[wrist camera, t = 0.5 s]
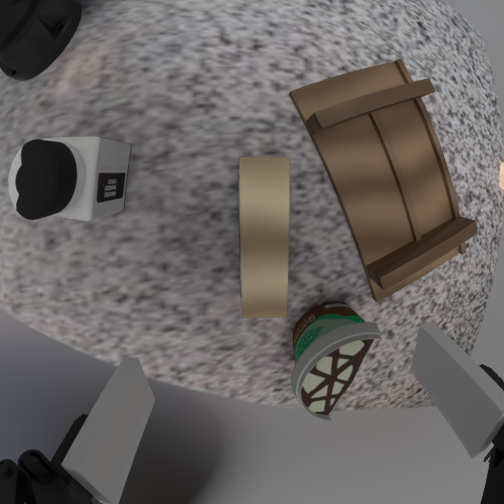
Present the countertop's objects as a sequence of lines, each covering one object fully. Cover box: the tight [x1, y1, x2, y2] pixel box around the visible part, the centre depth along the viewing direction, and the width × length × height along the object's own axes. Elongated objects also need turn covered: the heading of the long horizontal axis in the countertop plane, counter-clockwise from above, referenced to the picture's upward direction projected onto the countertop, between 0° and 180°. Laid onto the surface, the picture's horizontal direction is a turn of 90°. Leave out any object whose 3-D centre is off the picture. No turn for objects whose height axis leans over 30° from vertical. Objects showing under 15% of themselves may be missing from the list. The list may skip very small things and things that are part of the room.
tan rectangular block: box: [238, 157, 290, 318], centre depth 26 cm, size 14×4×7 cm, turn 0°
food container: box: [291, 301, 382, 421], centre depth 28 cm, size 12×6×10 cm, turn 163°
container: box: [8, 136, 131, 221], centre depth 22 cm, size 8×8×13 cm
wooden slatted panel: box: [289, 59, 478, 302], centre depth 26 cm, size 26×15×5 cm, turn 26°
